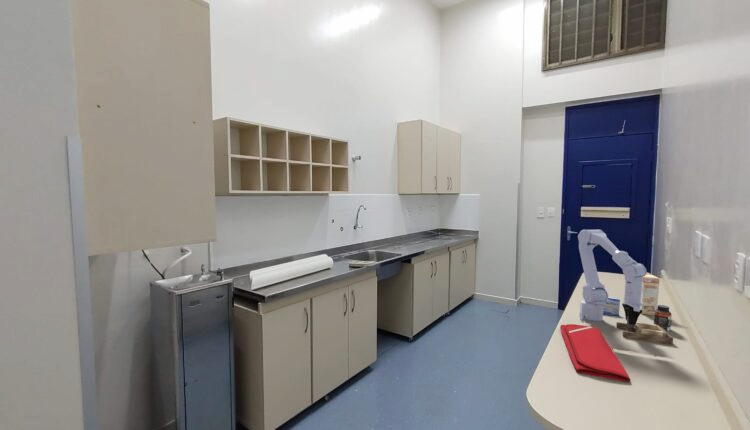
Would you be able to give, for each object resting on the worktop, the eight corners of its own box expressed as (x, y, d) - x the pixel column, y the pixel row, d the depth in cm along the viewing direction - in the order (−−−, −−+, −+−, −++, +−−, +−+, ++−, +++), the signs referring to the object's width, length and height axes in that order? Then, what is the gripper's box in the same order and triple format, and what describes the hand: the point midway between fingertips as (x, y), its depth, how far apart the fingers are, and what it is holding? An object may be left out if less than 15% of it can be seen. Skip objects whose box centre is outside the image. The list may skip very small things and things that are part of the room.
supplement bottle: (673, 334, 151) (675, 309, 150) (658, 332, 152) (660, 307, 151) (664, 328, 157) (666, 304, 156) (650, 327, 158) (652, 303, 157)
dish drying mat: (575, 373, 116) (576, 363, 116) (558, 329, 154) (559, 321, 154) (630, 384, 110) (631, 373, 110) (599, 335, 149) (600, 327, 148)
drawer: (629, 336, 144) (630, 319, 143) (623, 328, 152) (624, 312, 152) (665, 342, 139) (666, 324, 138) (657, 334, 147) (658, 317, 147)
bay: (617, 340, 143) (617, 331, 142) (608, 326, 157) (609, 318, 157) (674, 349, 135) (675, 340, 135) (659, 334, 150) (660, 325, 149)
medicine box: (600, 314, 174) (601, 297, 174) (598, 311, 178) (599, 295, 178) (619, 316, 171) (620, 299, 171) (616, 313, 176) (617, 297, 175)
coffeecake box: (657, 316, 173) (660, 278, 172) (640, 314, 175) (643, 276, 174) (644, 306, 187) (647, 271, 186) (629, 305, 190) (631, 270, 188)
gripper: (650, 297, 138) (647, 330, 139) (639, 288, 151) (637, 318, 152) (629, 295, 141) (626, 327, 142) (620, 286, 154) (618, 316, 155)
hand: (630, 322), depth 147 cm, fingers open, 4 cm apart
